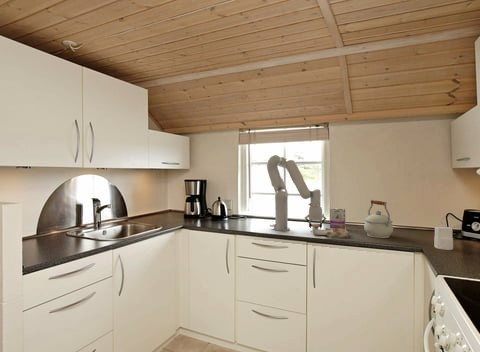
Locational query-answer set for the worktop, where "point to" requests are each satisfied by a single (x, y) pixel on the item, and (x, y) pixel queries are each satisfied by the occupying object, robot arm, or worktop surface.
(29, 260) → the worktop surface
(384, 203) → the kettle
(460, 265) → the worktop surface
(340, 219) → the candy bar box
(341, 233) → the caddy
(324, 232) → the tray
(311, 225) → the pink dome
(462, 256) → the worktop surface
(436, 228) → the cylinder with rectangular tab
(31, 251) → the worktop surface
